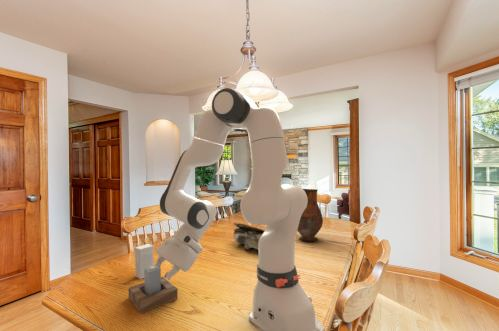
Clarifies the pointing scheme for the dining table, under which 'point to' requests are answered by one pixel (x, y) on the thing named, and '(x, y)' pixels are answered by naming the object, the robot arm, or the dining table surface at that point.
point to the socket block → (152, 296)
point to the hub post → (152, 279)
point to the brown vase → (310, 218)
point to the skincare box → (143, 259)
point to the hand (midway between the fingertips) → (160, 274)
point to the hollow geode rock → (247, 235)
